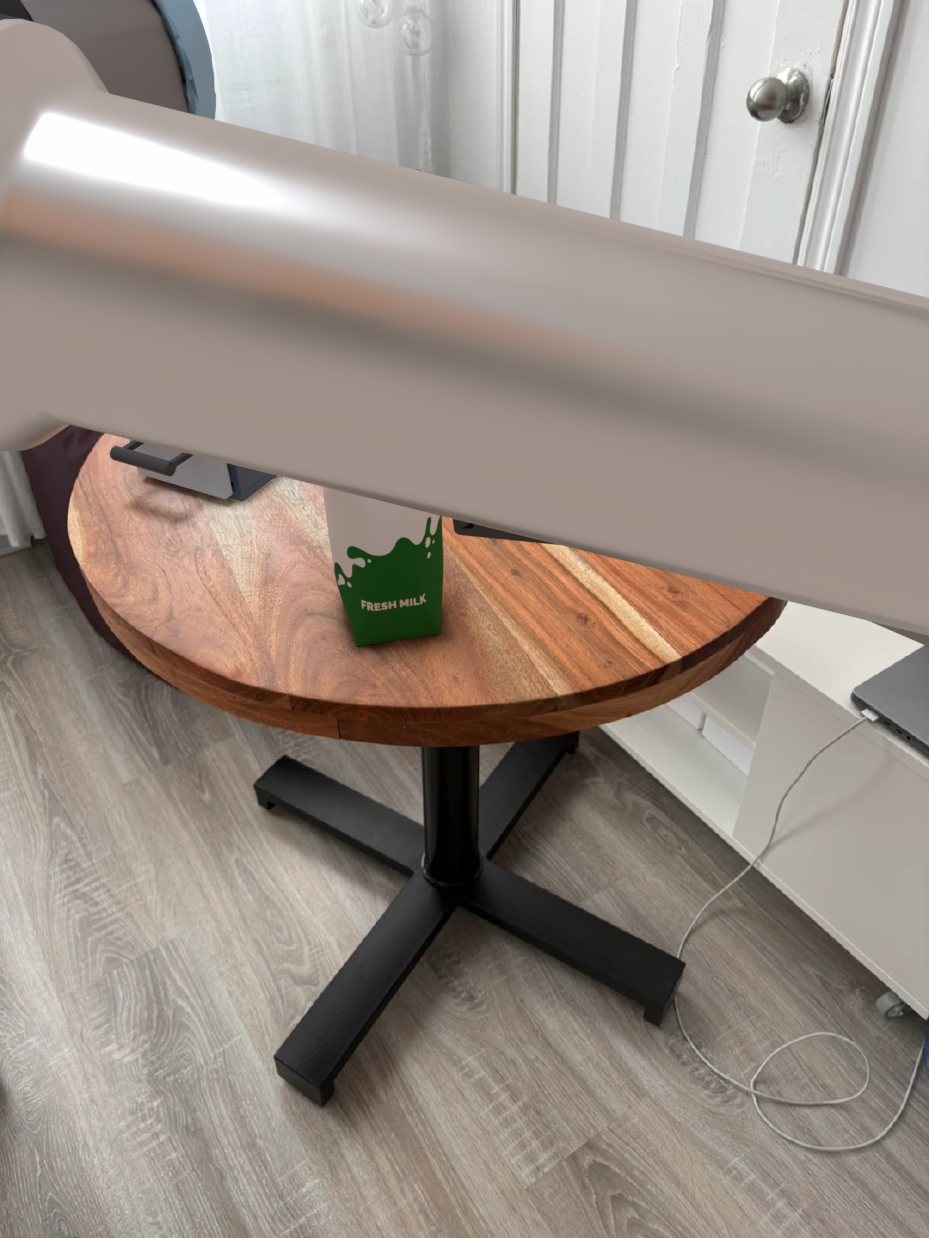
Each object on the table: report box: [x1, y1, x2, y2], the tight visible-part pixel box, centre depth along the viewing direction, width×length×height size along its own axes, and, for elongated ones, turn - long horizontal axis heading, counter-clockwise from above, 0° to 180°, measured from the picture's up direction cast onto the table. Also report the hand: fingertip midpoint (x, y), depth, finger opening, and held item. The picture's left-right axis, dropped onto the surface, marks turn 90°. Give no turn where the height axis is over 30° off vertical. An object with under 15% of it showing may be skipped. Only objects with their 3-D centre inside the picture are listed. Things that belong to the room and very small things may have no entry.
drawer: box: [109, 439, 233, 500], centre depth 93 cm, size 18×11×8 cm, turn 152°
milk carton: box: [322, 487, 444, 647], centre depth 71 cm, size 9×9×20 cm
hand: (480, 394), depth 56 cm, fingers open, 13 cm apart
